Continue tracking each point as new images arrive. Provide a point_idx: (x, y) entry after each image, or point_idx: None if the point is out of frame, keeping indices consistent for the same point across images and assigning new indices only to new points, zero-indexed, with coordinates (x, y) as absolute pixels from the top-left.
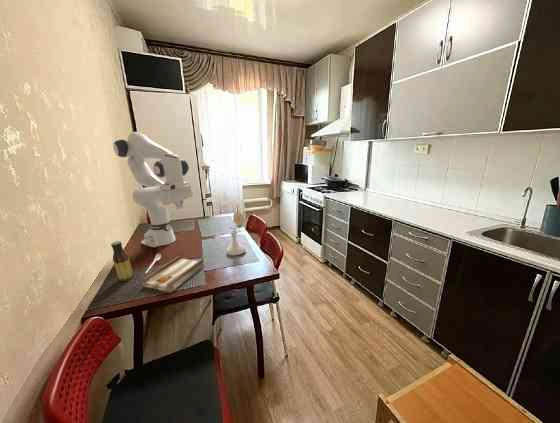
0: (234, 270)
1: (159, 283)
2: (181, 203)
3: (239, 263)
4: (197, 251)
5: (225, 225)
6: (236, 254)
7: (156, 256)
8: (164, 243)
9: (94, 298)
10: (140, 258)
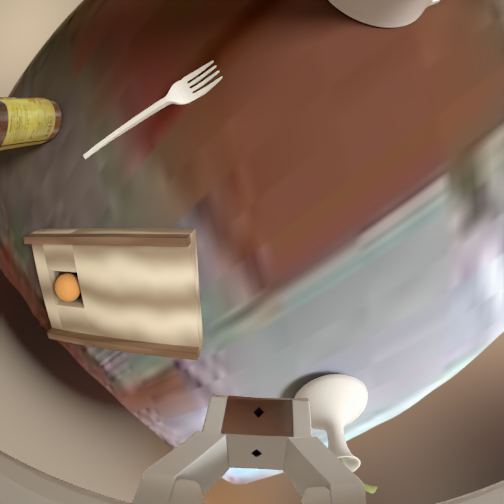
0: None
1: (48, 293)
2: (300, 486)
3: None
4: (316, 238)
5: None
6: None
7: (201, 71)
8: (338, 2)
9: None
10: (175, 10)
